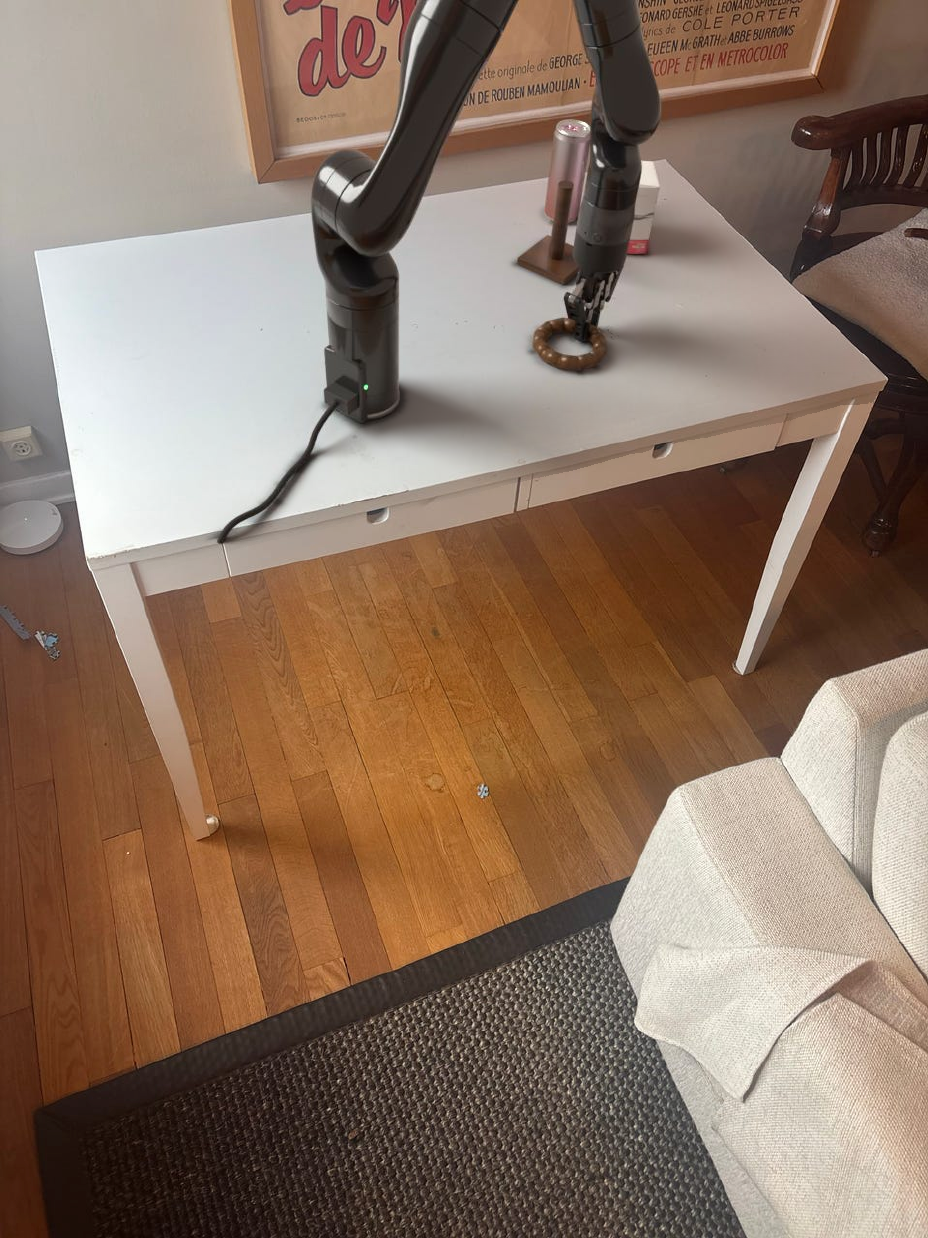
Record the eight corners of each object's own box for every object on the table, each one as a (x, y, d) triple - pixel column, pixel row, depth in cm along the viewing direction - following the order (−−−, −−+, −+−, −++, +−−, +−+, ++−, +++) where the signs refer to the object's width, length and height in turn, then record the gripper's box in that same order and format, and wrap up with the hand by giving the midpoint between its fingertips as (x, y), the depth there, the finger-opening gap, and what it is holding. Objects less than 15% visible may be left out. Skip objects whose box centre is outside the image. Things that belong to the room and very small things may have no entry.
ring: (581, 382, 139) (583, 370, 137) (518, 351, 142) (519, 340, 141) (619, 346, 144) (621, 334, 143) (557, 317, 148) (559, 306, 146)
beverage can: (549, 203, 169) (561, 115, 157) (582, 210, 168) (596, 123, 156) (539, 219, 165) (550, 131, 153) (573, 227, 164) (586, 139, 152)
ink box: (646, 255, 160) (661, 186, 151) (617, 253, 160) (630, 184, 151) (640, 227, 165) (654, 158, 156) (612, 225, 165) (624, 157, 156)
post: (563, 284, 153) (575, 206, 143) (516, 264, 156) (525, 185, 146) (592, 260, 158) (606, 183, 148) (546, 240, 161) (557, 163, 151)
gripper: (606, 198, 137) (587, 305, 150) (554, 239, 130) (538, 346, 143) (652, 217, 134) (628, 323, 148) (601, 259, 127) (581, 367, 141)
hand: (584, 334), depth 146 cm, fingers closed on ring, 2 cm apart
